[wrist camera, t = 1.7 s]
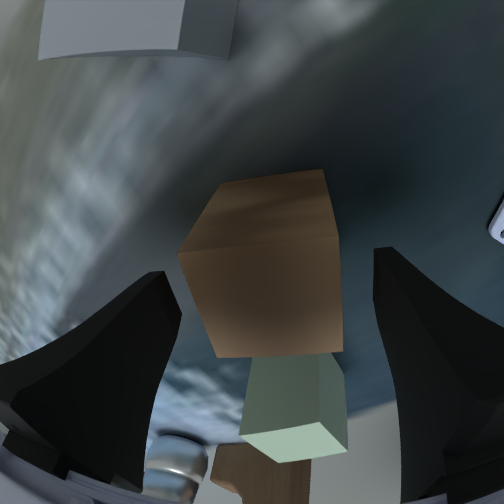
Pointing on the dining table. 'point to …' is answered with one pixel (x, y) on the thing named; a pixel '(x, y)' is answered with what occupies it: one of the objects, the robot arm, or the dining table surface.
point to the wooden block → (261, 476)
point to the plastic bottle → (174, 469)
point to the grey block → (137, 28)
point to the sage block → (295, 407)
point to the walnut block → (267, 267)
